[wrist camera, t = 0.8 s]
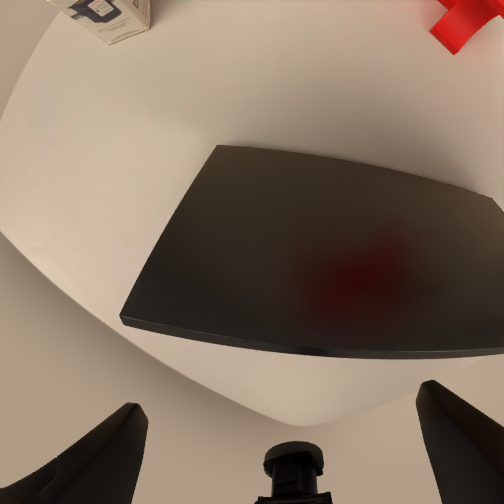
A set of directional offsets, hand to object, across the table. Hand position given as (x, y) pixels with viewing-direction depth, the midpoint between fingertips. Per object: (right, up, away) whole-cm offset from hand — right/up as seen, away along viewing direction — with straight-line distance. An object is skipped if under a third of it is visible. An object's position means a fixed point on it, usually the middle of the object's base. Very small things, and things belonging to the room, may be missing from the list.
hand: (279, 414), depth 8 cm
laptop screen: (+8, +6, +7) cm, 11 cm away
